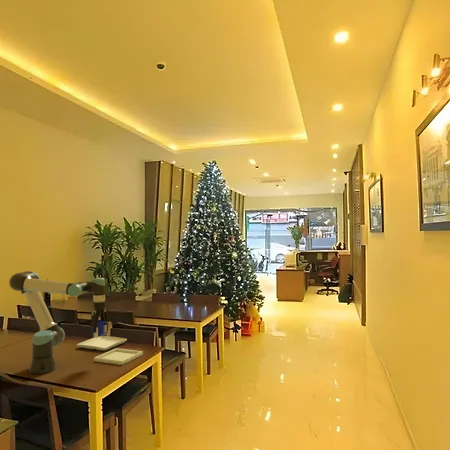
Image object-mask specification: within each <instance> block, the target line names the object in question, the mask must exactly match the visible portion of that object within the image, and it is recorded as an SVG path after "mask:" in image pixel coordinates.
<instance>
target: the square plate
mask: <svg viewBox="0 0 450 450" xmlns="http://www.w3.org/2000/svg"><path fill="white" fill-rule="evenodd" d="M127 340H128V339H127V338H125V337H124V338H123V337H117V336H106V335H102V336H100V337H98V338H94V337H92V338H90V339H86V340H84V341H81V342H79V343H76V346H77V347H79V348H83V349H88V350H95V349H96V350H97V351H107V350H110V349H111V348H114V347H117V346H119V345H122V344H123V343H125V342H126V341H127ZM96 350H95V351H96Z"/></svg>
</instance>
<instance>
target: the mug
mask: <svg viewBox="0 0 450 450" xmlns="http://www.w3.org/2000/svg"><path fill="white" fill-rule="evenodd" d="M104 323H106V324H107V325H106V333H104V332H103V327H104ZM109 325H110V324H109V321H108V322H104V320H103V321H102V320H101V319H98V324H97V327H98V337H100V336H104V335H103V334H106V335H107V334H108V332H109ZM90 328H91V334H92V338H94V332H93V328H92V327H91V326H90Z"/></svg>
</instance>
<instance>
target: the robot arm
mask: <svg viewBox="0 0 450 450" xmlns="http://www.w3.org/2000/svg"><path fill="white" fill-rule="evenodd" d="M8 283H9V287H10V289H12V290H13V291H16V292H20V293H21V295H22V296H25V298H26V300H27V302H28V304H29V307H30V308H31V310H32V312H33V313H32V314H33V315H34V317H35V320H36V322H37V324H38V326H39V331H37V332H35V333H34V334H33V335H32V340H31V343H32V345H31V346H32V350H31V351H32V353H31V354H32V357H31V363H30V365H29V367H28V373H29V374H31V375H44V374H48V373H51V372H53V371H55V370H56V366H57V365H56V363H55V359H54V349H55V348H56V347H58V346H60V344H62V343H63V341H64V339H65V338H66V337H65V336H66V335H65V334H66V333H65V331H64V329H63V328H62V327H60V326H59V325H58V323H57V322H54V319H53V317H52V316H51V313H50V311H49V309H48V307H47V305H46V302H45V300H44V298H43V296H42V293H50V294H57V295H58V294H59V295H67V296H69V297H79V296H80V295H83V294H92V293H93V294H92V295H93V299H92V301H93V308H94V309H93V311H91V312H90V328H91V327H92V328H93V332H94V337H93V338H98V327H97V324H98V320H102V321H103V320H104V322H108V323H109V314H108V313H109V309H108V308H106V279H105V278H104V277H96V278H93V280H92V281H76V282H75V283H72V282H65V281H57V280H56V281H55V280H50V279H49V280H48V279H41V278H40V276H39V274H37V273H36V272H34V271H30V270H29V271H28V270H27V271H23V272H16V273H15V274H12V276H11V277H10V278H9V281H8ZM92 328H91V329H92ZM106 330H107V324H106V323H104V327H103V332H104V333H106ZM106 335H107V333H106V334H103V335H102V336H106Z"/></svg>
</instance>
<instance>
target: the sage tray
mask: <svg viewBox="0 0 450 450" xmlns="http://www.w3.org/2000/svg"><path fill="white" fill-rule="evenodd" d="M143 355H144V351H143V350H142V351H141V350H133V349H126V348H119V347H118V348H116V347H115V348H114V349H111V350H109V351H107V352H106V351H105V352H104V353H101V354H99V355H97V356H95V357H93V360H94V361H93V362H96V363H105V364H112V365H117V366H118V365H119V366H124V365H125V364H128V363H129V362H131V361H134V360H136V359H137V358H140V357H141V356H143Z"/></svg>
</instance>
